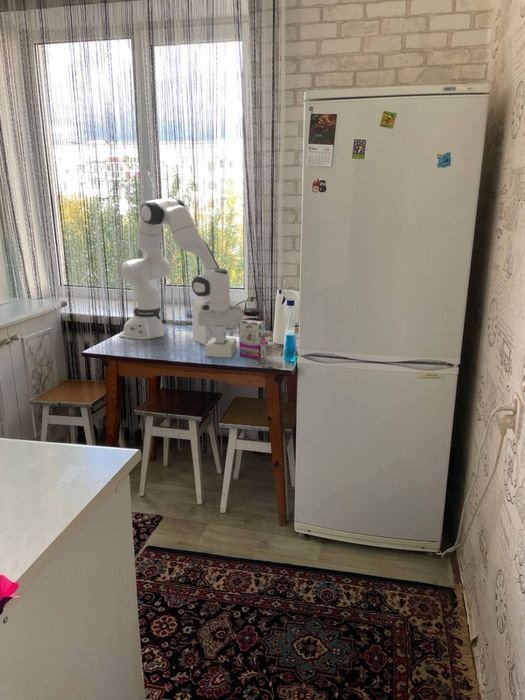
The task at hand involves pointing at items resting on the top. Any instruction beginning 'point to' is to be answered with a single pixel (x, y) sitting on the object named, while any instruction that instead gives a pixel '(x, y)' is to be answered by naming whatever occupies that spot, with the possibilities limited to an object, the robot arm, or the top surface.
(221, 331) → the block
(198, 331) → the milk
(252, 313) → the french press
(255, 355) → the candy bar box
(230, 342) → the slotted post base
